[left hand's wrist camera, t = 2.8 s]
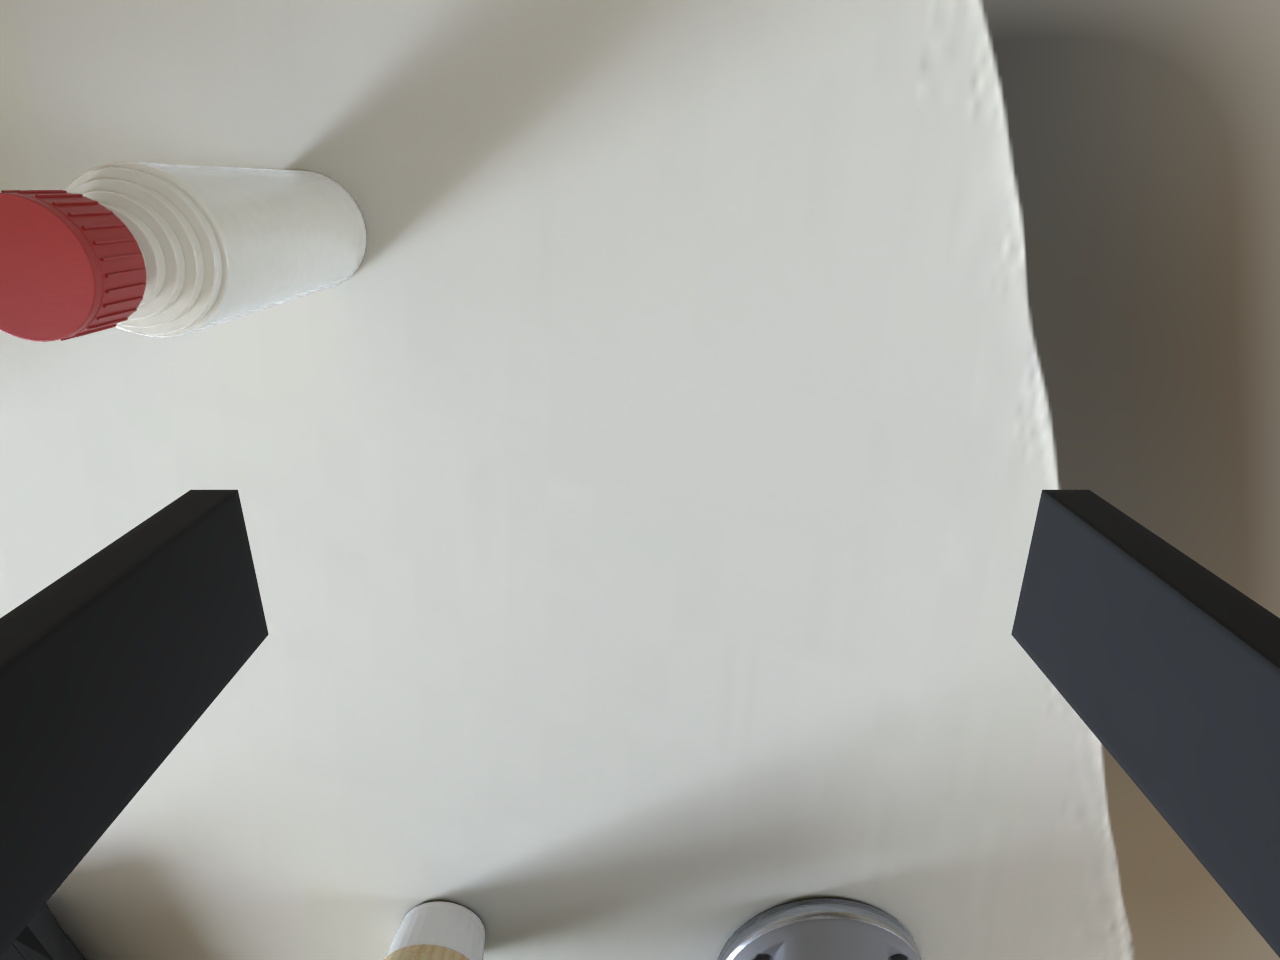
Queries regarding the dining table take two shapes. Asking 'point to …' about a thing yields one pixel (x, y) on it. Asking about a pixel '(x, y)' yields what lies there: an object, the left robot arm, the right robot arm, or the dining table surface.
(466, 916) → the coffee cup
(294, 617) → the dining table surface
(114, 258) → the cap
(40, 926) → the electronic device
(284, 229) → the bottle
